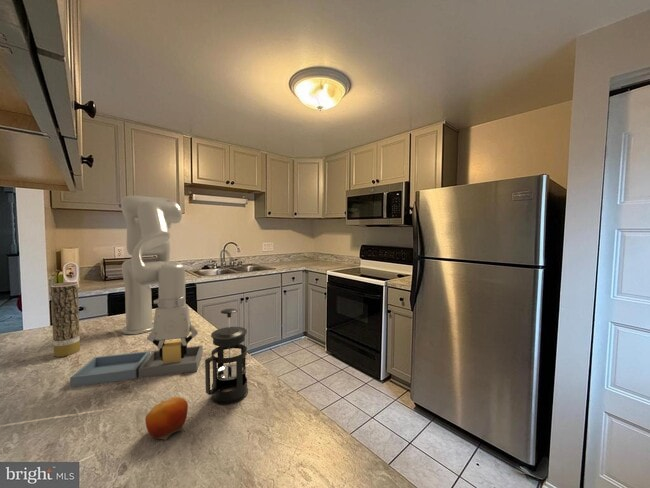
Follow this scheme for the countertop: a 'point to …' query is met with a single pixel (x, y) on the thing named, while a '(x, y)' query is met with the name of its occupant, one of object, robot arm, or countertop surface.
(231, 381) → the french press
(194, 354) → the charcoal tray
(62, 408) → the countertop surface
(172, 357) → the ochre block
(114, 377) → the slate-blue tray
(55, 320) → the paper tube
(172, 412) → the fruit
